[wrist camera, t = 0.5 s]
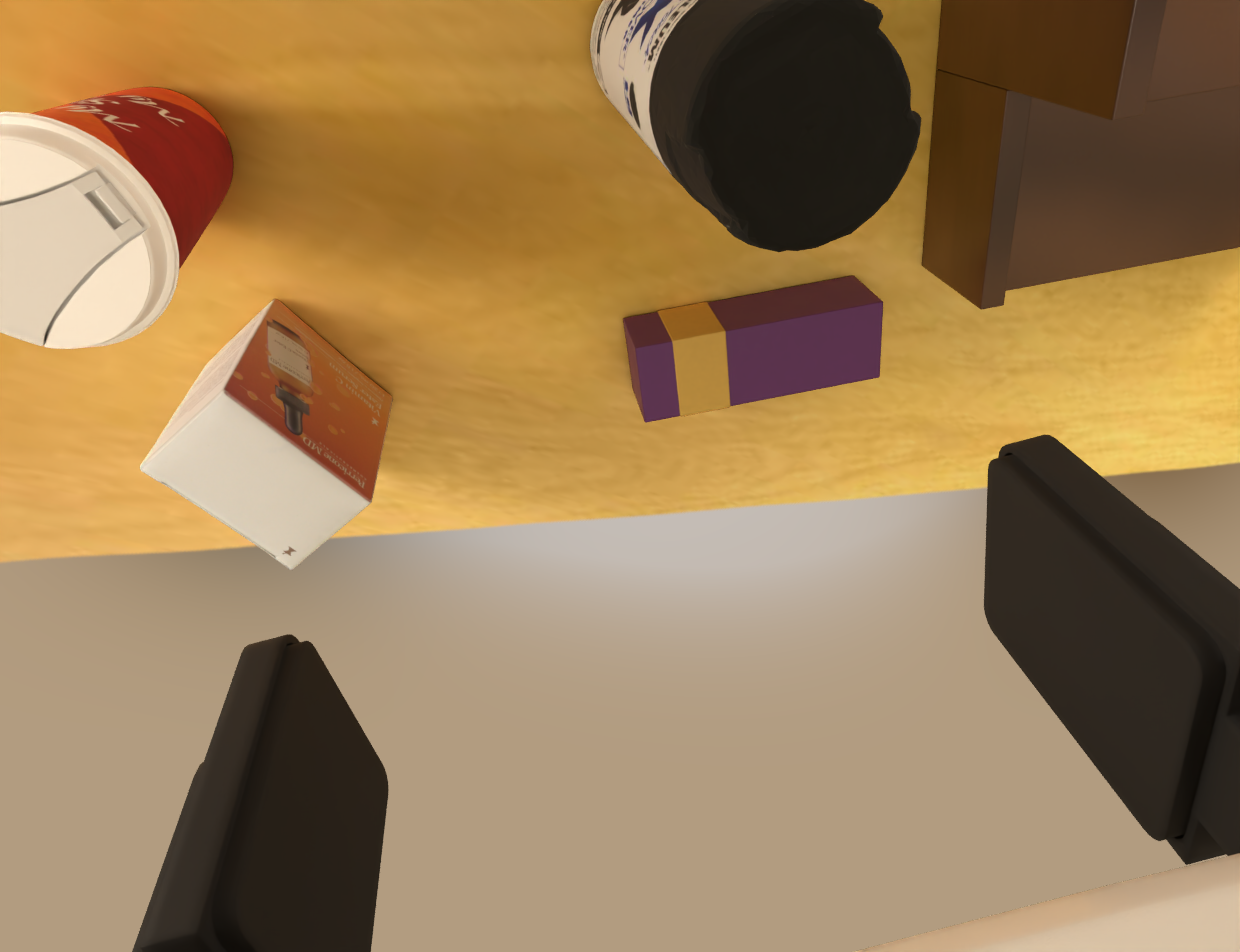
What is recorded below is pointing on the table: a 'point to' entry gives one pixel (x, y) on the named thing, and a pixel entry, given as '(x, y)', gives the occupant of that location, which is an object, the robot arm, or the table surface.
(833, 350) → the purple banded block
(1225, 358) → the table surface
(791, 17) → the spray can
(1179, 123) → the step rack
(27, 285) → the paper cup
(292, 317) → the small box
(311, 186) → the table surface
